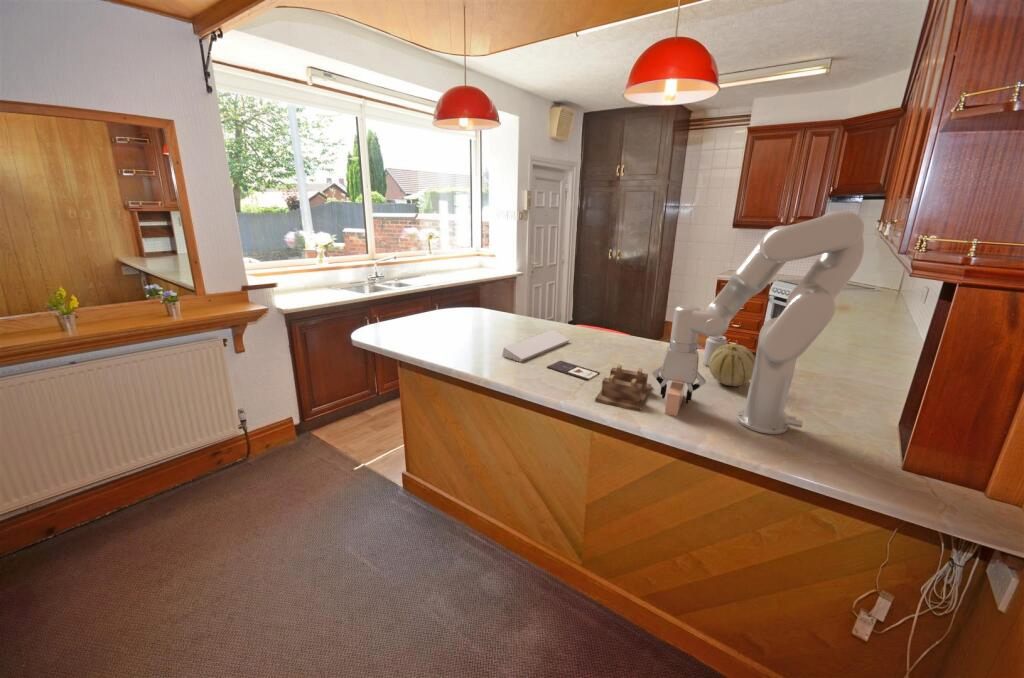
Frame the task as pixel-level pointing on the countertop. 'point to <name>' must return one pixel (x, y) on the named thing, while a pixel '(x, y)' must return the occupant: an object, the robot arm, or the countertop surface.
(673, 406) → the salmon pink rectangular block
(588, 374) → the chocolate bar
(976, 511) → the countertop surface
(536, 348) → the decorative molding
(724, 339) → the can
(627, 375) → the brown cradle stand
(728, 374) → the cantaloupe
